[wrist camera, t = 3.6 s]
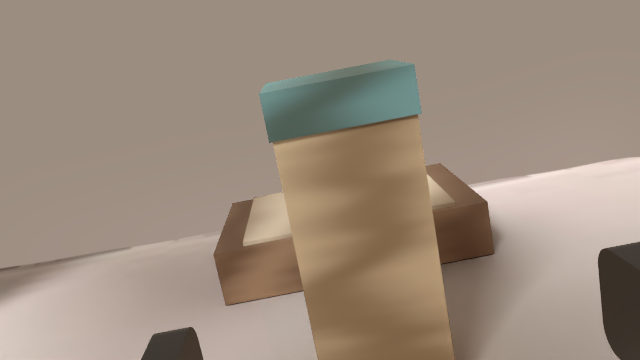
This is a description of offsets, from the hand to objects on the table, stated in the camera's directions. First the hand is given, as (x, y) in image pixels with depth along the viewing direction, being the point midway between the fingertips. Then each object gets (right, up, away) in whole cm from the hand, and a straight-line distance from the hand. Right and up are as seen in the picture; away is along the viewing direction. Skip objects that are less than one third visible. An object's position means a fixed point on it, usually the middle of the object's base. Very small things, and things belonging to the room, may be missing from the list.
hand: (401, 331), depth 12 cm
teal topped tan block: (+1, -4, +11) cm, 12 cm away
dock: (0, -1, +24) cm, 24 cm away
